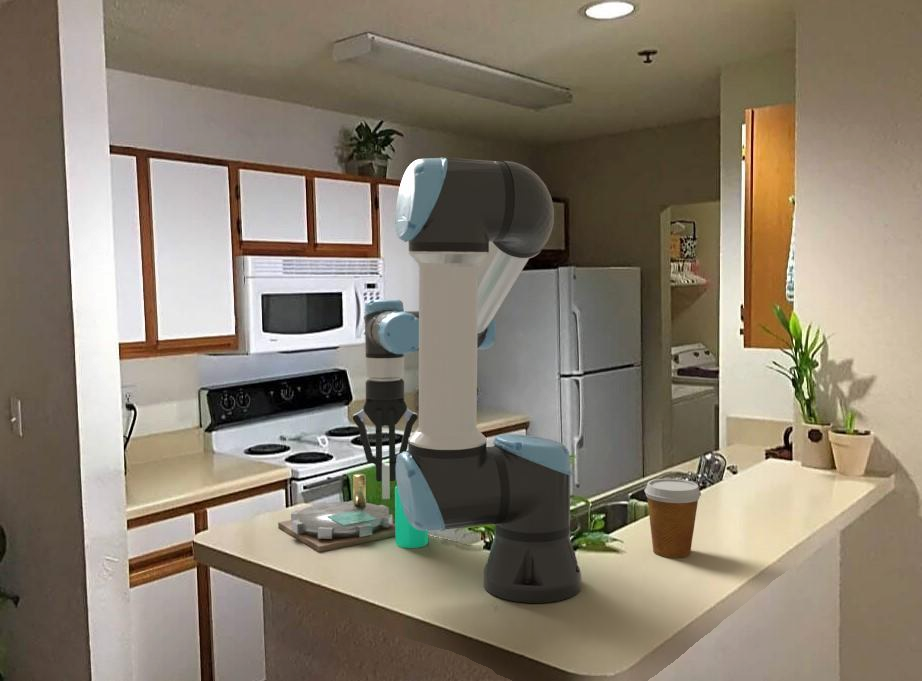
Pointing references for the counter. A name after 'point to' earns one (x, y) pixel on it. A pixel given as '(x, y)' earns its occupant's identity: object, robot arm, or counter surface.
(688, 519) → the disposable coffee cup
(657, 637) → the counter surface
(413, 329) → the robot arm
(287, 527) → the base board
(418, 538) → the candle
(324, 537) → the turntable
